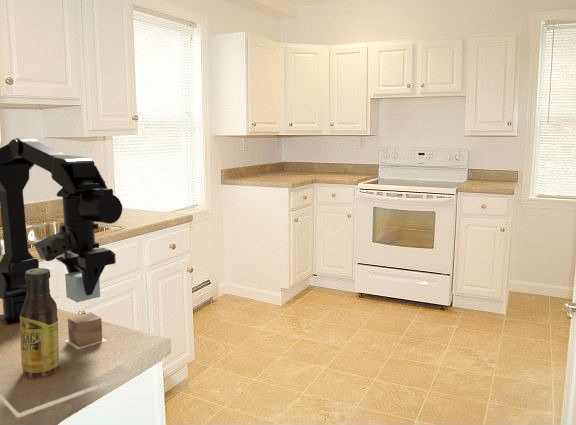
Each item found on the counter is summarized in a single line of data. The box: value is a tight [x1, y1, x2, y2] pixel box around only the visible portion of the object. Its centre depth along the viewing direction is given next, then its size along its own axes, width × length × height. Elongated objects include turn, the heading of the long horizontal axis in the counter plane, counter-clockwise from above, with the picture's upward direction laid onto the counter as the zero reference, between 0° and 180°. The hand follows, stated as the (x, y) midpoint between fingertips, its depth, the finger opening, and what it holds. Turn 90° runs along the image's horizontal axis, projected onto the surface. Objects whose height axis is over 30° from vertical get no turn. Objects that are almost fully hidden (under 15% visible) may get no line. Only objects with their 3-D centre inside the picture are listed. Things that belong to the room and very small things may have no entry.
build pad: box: [64, 337, 108, 350], centre depth 107 cm, size 10×10×1 cm
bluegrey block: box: [64, 271, 101, 303], centre depth 106 cm, size 5×5×5 cm
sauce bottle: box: [19, 267, 60, 379], centre depth 92 cm, size 7×6×20 cm
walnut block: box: [67, 311, 103, 347], centre depth 107 cm, size 5×5×5 cm
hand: (83, 292), depth 106 cm, fingers closed on bluegrey block, 5 cm apart
